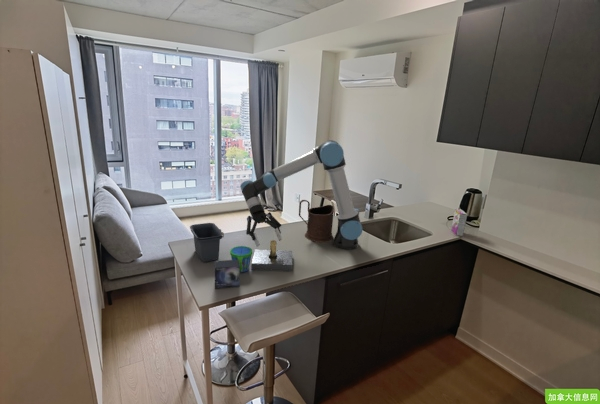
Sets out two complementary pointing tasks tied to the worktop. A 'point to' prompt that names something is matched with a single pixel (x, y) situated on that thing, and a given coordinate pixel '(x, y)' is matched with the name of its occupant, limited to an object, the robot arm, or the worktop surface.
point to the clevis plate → (272, 260)
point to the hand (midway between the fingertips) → (269, 242)
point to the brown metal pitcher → (319, 223)
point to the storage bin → (207, 240)
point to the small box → (227, 274)
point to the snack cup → (242, 256)
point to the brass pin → (273, 249)
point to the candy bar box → (459, 222)
